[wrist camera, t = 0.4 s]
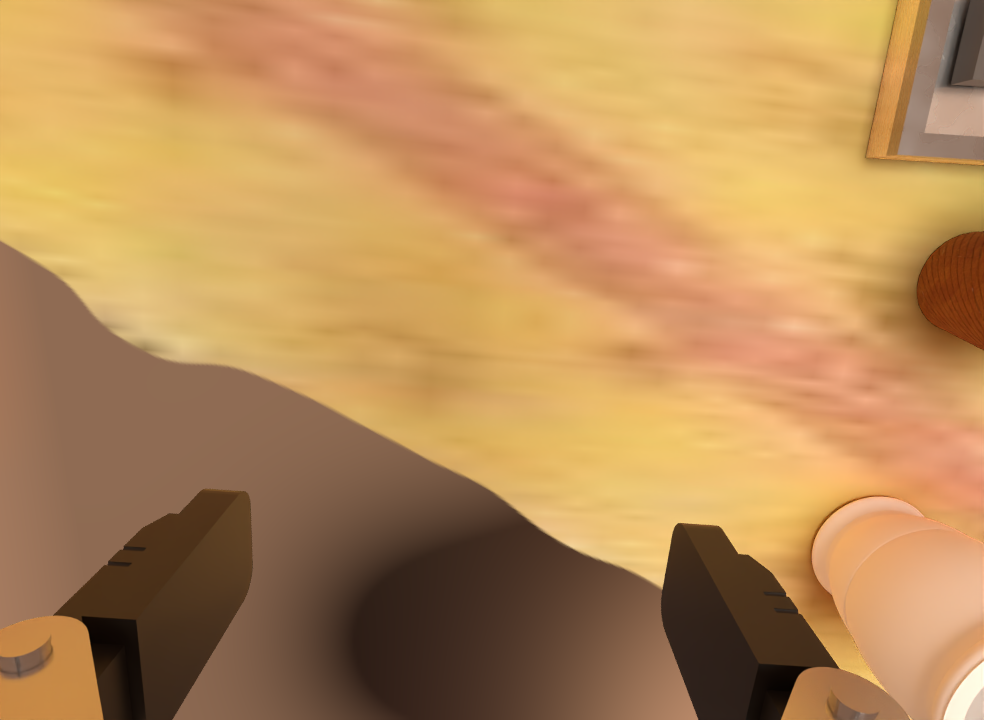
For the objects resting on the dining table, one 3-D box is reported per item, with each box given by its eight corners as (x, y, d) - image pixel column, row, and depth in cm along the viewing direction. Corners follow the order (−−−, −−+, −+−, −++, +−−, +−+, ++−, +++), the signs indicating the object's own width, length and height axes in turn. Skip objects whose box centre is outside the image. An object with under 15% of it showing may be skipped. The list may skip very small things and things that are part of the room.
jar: (960, 578, 44) (1187, 766, 30) (822, 632, 45) (975, 838, 31) (918, 456, 42) (1143, 595, 27) (773, 517, 43) (914, 681, 29)
